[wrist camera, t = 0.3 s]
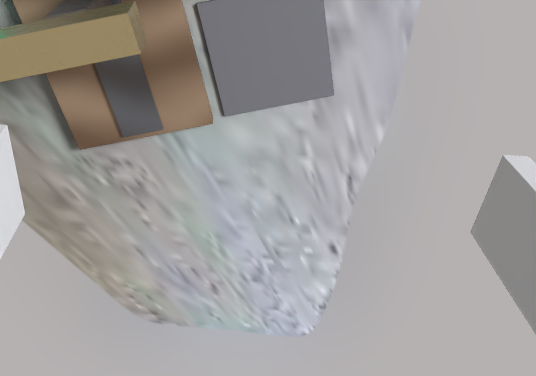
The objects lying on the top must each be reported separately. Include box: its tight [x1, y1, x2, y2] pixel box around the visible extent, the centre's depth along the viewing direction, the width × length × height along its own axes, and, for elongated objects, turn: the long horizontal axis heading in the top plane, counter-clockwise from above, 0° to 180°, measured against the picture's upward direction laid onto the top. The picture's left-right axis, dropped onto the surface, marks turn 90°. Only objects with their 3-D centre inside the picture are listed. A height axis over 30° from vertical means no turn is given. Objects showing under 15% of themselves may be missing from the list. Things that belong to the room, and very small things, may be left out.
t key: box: [0, 0, 147, 82], centre depth 30 cm, size 2×8×9 cm, turn 100°
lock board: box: [12, 0, 213, 150], centre depth 37 cm, size 13×11×2 cm
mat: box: [197, 0, 334, 116], centre depth 38 cm, size 9×9×1 cm
